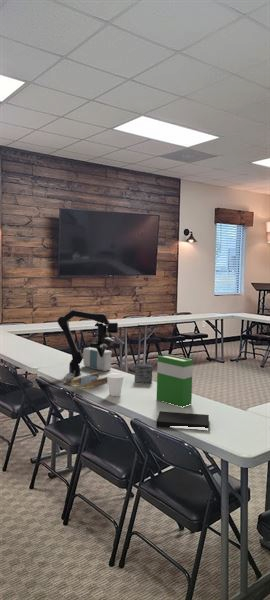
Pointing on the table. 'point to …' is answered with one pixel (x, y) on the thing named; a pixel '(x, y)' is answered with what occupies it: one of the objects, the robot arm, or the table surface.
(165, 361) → the green cereal box
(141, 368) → the small box
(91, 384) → the rack bay
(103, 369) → the stereo radio cassette player
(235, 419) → the table surface
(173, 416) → the black book
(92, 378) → the crate
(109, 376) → the cup
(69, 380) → the winch drum
